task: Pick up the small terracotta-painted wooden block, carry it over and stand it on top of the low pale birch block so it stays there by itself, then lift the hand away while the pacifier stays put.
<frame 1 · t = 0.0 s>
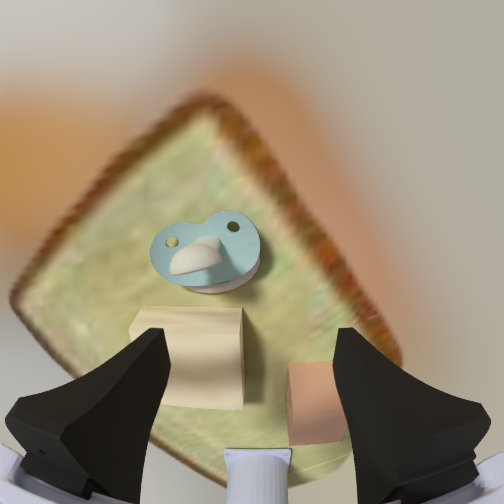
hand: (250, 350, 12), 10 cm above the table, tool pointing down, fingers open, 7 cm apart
terracotta block: (310, 379, 25), on the table
pacifier: (212, 251, 21), on the table
birch block: (196, 347, 24), on the table
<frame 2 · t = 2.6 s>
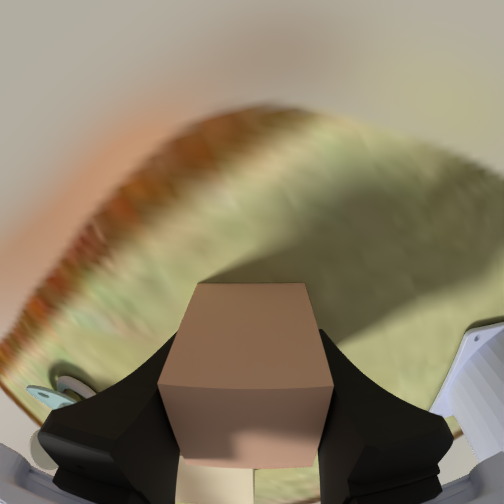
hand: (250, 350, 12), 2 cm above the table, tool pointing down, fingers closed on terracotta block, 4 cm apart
terracotta block: (251, 327, 13), on the table, touching gripper
pacifier: (84, 403, 17), on the table
birch block: (194, 442, 17), on the table
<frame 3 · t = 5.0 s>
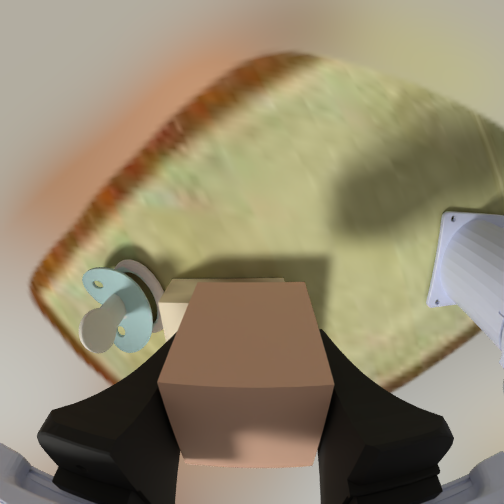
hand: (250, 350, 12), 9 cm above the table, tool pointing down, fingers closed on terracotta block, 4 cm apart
terracotta block: (251, 326, 13), point 8 cm above the table, touching gripper
pacifier: (134, 295, 22), on the table
birch block: (230, 325, 22), on the table
when the fingers open (6 cm above the table, at t = 7.3 s): terracotta block drops 1 cm, resting on birch block.
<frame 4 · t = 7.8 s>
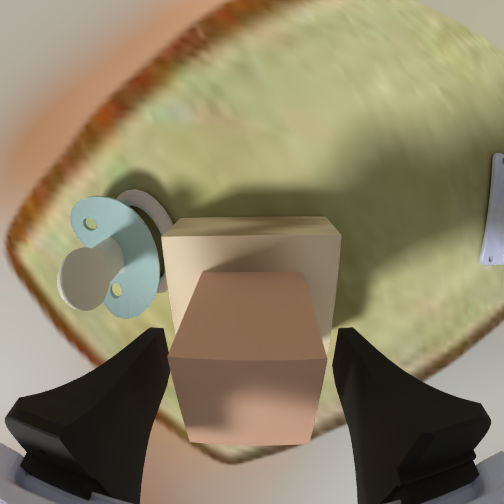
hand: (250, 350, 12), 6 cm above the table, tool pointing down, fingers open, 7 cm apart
terracotta block: (252, 314, 14), point 3 cm above the table, touching birch block
pacifier: (136, 243, 17), on the table
birch block: (253, 283, 18), on the table
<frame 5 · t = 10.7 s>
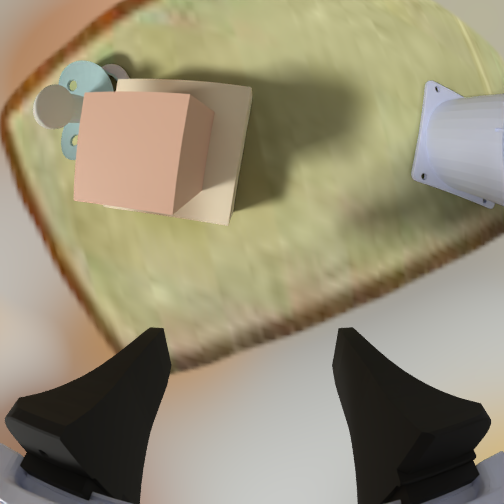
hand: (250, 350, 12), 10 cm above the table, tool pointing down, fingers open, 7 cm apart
terracotta block: (169, 146, 16), point 3 cm above the table, touching birch block
pacifier: (102, 107, 18), on the table
birch block: (184, 146, 19), on the table
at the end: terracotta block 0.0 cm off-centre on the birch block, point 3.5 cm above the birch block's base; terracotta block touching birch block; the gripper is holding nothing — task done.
